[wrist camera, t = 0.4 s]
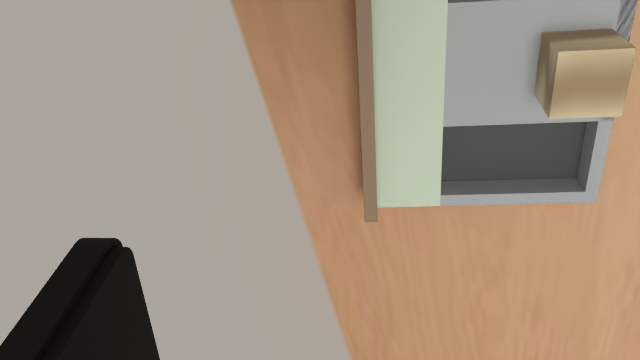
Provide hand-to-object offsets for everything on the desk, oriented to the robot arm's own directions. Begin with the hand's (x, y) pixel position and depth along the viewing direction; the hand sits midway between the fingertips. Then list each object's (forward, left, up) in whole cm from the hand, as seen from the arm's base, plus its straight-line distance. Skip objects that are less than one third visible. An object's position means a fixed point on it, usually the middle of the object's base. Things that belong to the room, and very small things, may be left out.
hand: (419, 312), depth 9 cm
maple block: (+8, +13, -32) cm, 36 cm away
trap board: (+8, +7, -35) cm, 37 cm away
